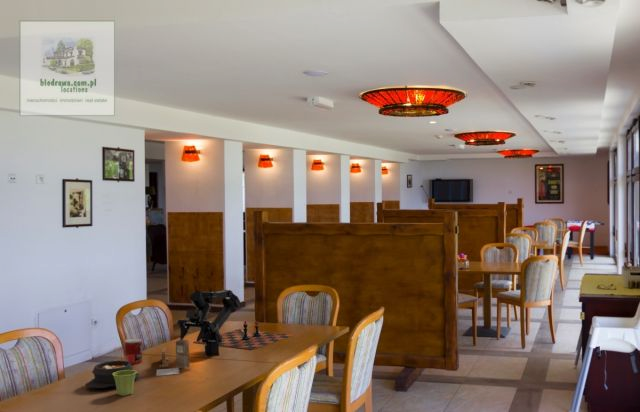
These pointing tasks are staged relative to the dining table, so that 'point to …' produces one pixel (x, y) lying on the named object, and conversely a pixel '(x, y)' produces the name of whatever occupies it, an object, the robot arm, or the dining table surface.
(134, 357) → the canned food
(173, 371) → the felt mat
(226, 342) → the chessboard
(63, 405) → the dining table surface
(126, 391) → the plant pot
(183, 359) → the plain brown block
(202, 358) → the dining table surface
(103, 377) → the casserole
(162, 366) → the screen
